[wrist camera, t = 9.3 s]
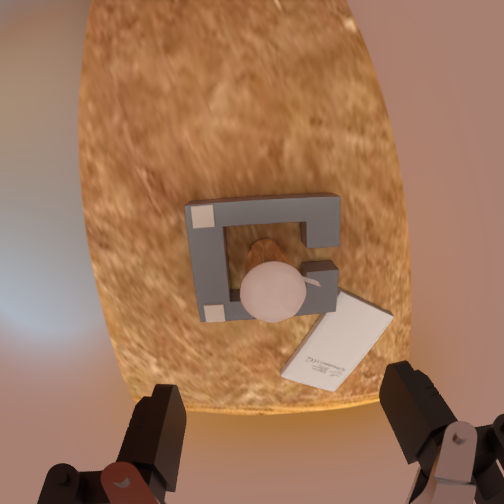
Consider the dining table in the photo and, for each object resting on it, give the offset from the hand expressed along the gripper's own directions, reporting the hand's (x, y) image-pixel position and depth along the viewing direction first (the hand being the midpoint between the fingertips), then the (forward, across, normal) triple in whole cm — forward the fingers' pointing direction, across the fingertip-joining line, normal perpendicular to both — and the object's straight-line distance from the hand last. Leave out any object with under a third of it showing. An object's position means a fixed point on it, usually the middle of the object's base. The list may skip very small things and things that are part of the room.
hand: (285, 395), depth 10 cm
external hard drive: (+19, -8, +12) cm, 24 cm away
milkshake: (+18, -1, +1) cm, 18 cm away
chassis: (+18, 0, +1) cm, 18 cm away
